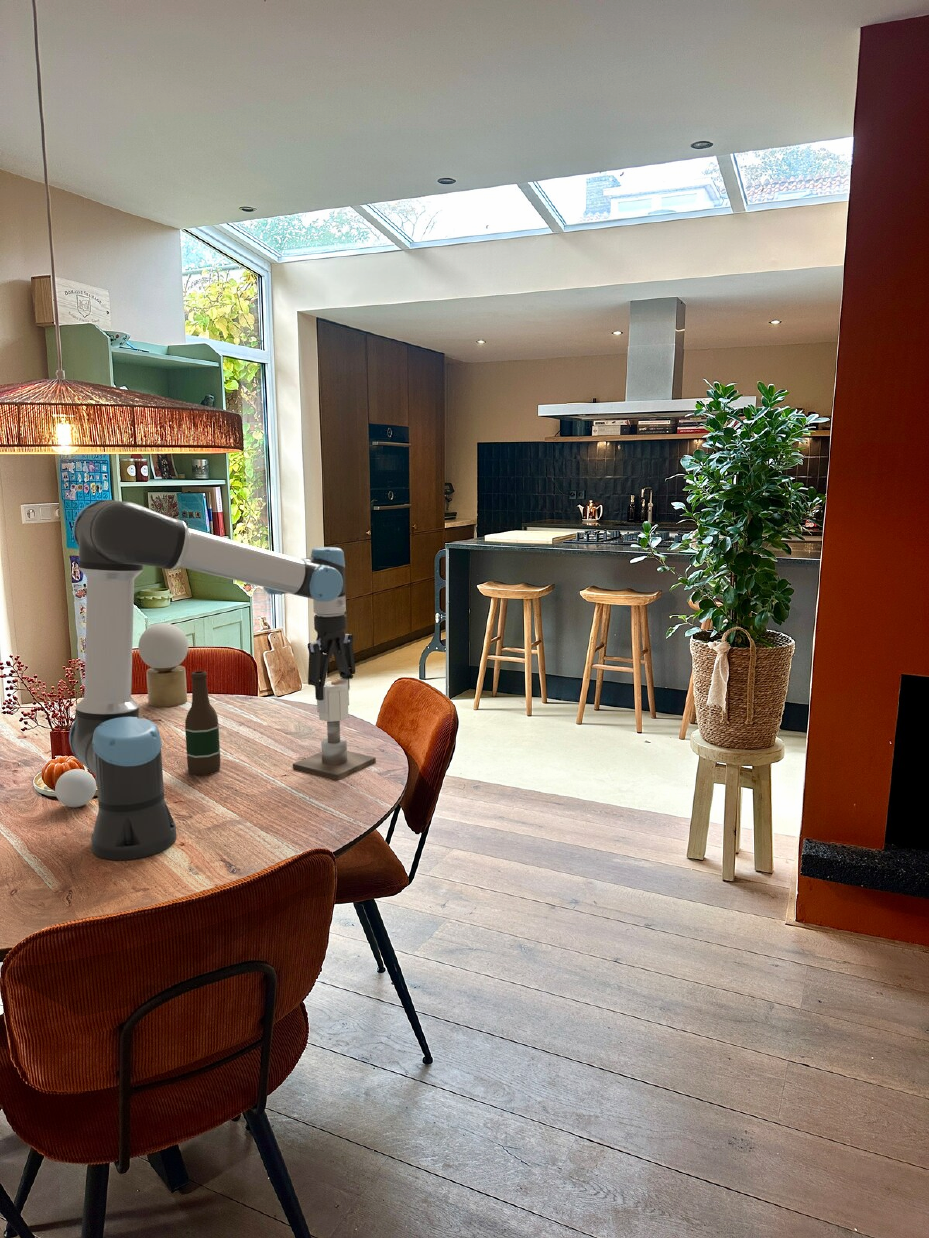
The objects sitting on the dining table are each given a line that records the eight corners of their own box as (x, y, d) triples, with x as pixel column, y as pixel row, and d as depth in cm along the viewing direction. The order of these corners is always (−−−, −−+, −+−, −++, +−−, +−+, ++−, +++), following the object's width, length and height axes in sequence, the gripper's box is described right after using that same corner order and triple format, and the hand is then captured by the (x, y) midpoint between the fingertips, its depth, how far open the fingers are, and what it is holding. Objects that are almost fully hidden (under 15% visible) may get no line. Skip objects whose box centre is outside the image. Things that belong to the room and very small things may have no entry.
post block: (337, 779, 194) (336, 733, 192) (292, 768, 201) (291, 724, 199) (375, 762, 205) (374, 718, 203) (332, 752, 213) (330, 709, 211)
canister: (335, 722, 196) (333, 687, 195) (313, 718, 200) (311, 683, 199) (354, 715, 202) (352, 680, 201) (332, 711, 206) (331, 677, 204)
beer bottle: (211, 777, 195) (205, 676, 191) (181, 774, 197) (174, 675, 193) (227, 765, 203) (222, 668, 199) (197, 763, 205) (192, 667, 200)
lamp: (189, 709, 251) (184, 626, 246) (139, 712, 248) (133, 628, 243) (193, 696, 265) (188, 617, 261) (146, 698, 262) (140, 619, 258)
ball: (52, 814, 174) (48, 778, 173) (61, 800, 182) (58, 765, 181) (93, 811, 176) (90, 775, 175) (101, 797, 184) (98, 762, 182)
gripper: (313, 621, 186) (317, 721, 191) (369, 609, 203) (371, 701, 207) (288, 618, 190) (292, 716, 194) (345, 606, 207) (348, 696, 211)
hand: (333, 708), depth 201 cm, fingers closed on canister, 7 cm apart
